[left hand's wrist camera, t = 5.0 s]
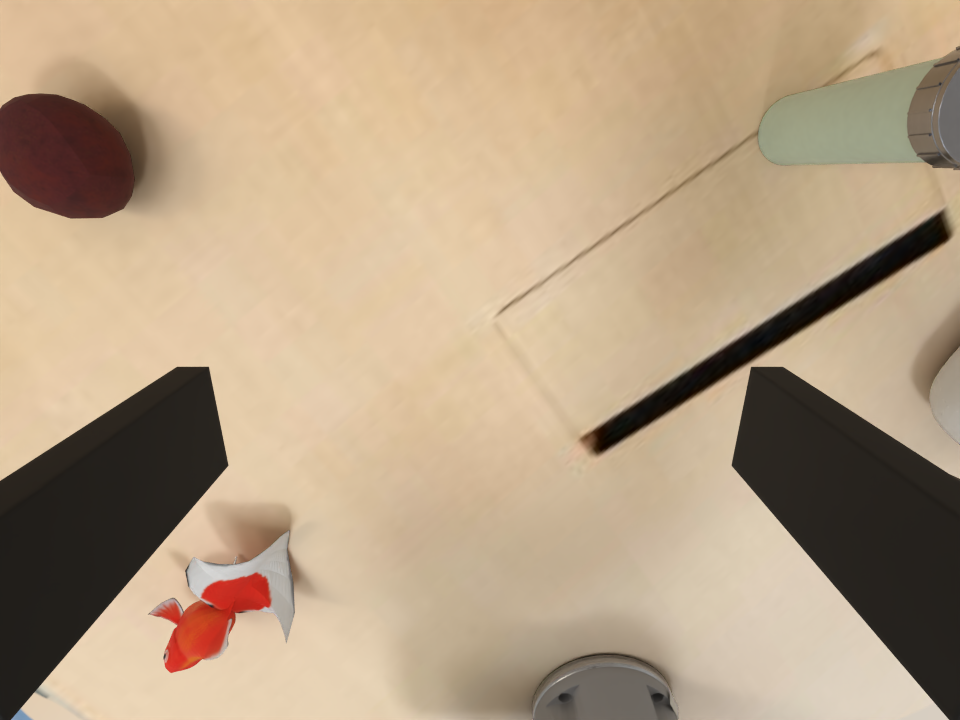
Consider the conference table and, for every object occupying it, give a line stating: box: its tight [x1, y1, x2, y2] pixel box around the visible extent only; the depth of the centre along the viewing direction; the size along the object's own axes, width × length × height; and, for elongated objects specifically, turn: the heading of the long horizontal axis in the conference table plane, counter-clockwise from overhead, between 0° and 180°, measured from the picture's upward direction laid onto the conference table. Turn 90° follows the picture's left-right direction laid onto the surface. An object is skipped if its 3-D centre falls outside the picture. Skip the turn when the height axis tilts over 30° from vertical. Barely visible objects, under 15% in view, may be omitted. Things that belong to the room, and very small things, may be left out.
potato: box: [0, 94, 135, 218], centre depth 33 cm, size 7×8×7 cm
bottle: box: [758, 58, 942, 165], centre depth 29 cm, size 5×5×15 cm
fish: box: [149, 530, 295, 673], centre depth 45 cm, size 11×16×10 cm
